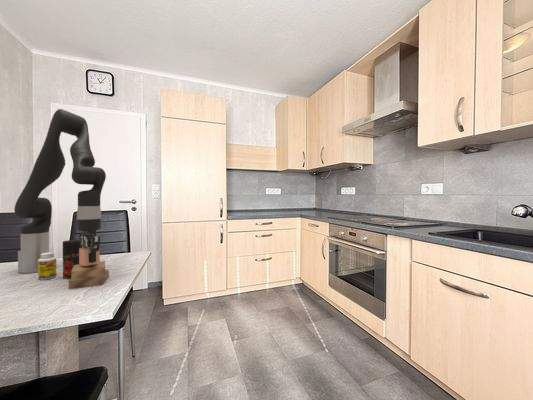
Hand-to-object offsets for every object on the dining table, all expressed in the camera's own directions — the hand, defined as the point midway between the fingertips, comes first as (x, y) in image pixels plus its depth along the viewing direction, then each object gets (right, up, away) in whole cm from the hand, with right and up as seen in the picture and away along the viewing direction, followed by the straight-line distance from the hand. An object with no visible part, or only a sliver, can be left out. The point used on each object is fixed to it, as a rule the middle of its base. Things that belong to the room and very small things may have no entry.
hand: (89, 261), depth 90 cm
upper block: (0, -5, 0) cm, 5 cm away
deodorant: (-12, -8, +7) cm, 17 cm away
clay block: (0, -1, 0) cm, 1 cm away
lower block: (0, -9, 0) cm, 9 cm away
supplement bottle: (-21, -9, +5) cm, 23 cm away
